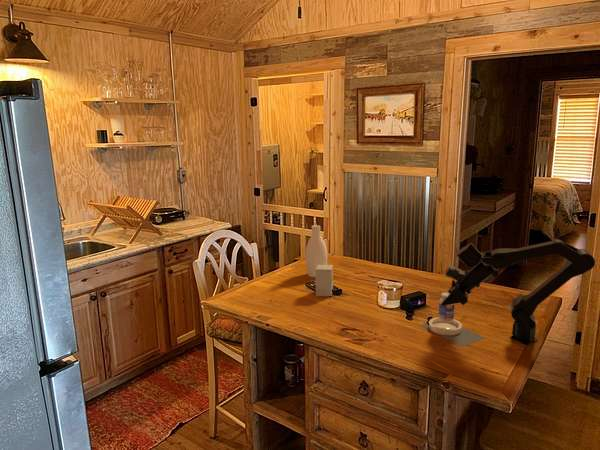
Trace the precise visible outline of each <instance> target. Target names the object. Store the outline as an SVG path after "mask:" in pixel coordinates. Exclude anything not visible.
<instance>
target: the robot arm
mask: <svg viewBox="0 0 600 450" xmlns="http://www.w3.org/2000/svg"><path fill="white" fill-rule="evenodd" d="M455 255H456V257H457V258H458V259H459V260H460V261H461V262H462V263H463V264H464V265H465V266H466V267H467V268H468V267H469V268H471V269H467V270H462V269H461V268H459V267H457V266H455V265H452V264H449V266H448V267H447V269H446V271H445V276H446V277H448V278H452V281H451V286H450V287H449V289H448V291H447V292H446V293H450V294H449V295H448V297H447V298H446V299H445V300H444V301H443V302H442V305H443V306H445V305H450V304H454V305H455V304H461V305H463V306H464V305H465V304H467V303H468V301H469V295H470V294H471V293H472V290H474V289H475V288H479V287H480V286H481V284H482V283H483V282H484V281H486V280H487V279H489V278H490V277H491V276H493V277H494V278H495V279H496V280H497V279H499V273H500V270H503V269H505V268H506V269H507V267H511V266H512V265H515V264H516V263H519V262H521V261H527V260H532V259H537V258H543V257H546V256H547V257H548V256H552V255H559V256H561V257H563V258H564V259H566V260H565V262H564V263H563V265H562V266H561V268H559V269H558V270H557V271H555V272H554V273H553V274H552V275H550V277H548V278H547V279H546V280H544V282H542V283H541V284H540V285H538V286H537V287H535V288H534V290H532V291H531V292H530V293H528V294H524V295H523V293H522V292H520V293H519V294H518V295H517V296H516V297H515V298H512V299H511V303H510V307H509V309H510V313H511V314H510V315H511V317H512V319H513V320H514V321H513V324H512V330H511V336H510V337H509V338H510V339H511V340H514V341H515V342H519V343H522V344H524V345H529V344H532V343H535V342H536V341H538V339H537V337H536V331H537V330H536V329H537V327H536V326H537V323H536V319H535V315H534V313H535V311H536V310H537V308H538V306H539V305H541V303H542V302H544V301H545V300H546V299H548V298H549V297H550V296H552V294H554V293H555V292H556V291H558V290H559V289H560V288H561V287H563V286H564V285H565V284H566V283H568V282H569V281H570V280H571V279H573V278H575V277H577V276H581V275H583V274H585V273H588V271H589V272H590V271H591V270H592V269H593V268H594V267H595V265H596V260H595V258H594V257H593V255H592V254H591V253H590V252H589V251H588V250H587V249H585V248H577V247H575V246H573V245H571V244H568V243H566V242H564V241H562V240H561V239H557V238H556V239H553V240H550V241H546V242H545V241H544V242H541V243H537V244H532V245H527V246H523V247H518V248H511V247H510V248H509V247H507V248H504V247H503V248H495V249H492V250H491V251H479V250H478V249H477V247H476V246H475V245H474V244H473V242H470V243H469V244H467V245H466V246H463V247H462V248H461V249H459V251H458V252H456V254H455Z"/></svg>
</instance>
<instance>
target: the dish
mask: <svg viewBox="0 0 600 450" xmlns="http://www.w3.org/2000/svg"><path fill="white" fill-rule="evenodd" d="M428 323H429V329H430V330H431V331H430V332H432V331H433V332H432V333H434V332H435V333H434V334H436V333H437V334H436V335H438V334H441V335H457V334H459V333H461V331H462V327H463V324H462V323H461V322H460V321H459V320H457V319H455V318H454V320H453V321H451V322H444V321H441V320H440V319H439V316H438V317H434V318H433V317H432V318H430V319H429V321H428Z"/></svg>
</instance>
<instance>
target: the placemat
mask: <svg viewBox="0 0 600 450" xmlns="http://www.w3.org/2000/svg"><path fill="white" fill-rule="evenodd" d="M427 323H428V322H426V323H423V324H420V325H419V327H422V328H423V329H426V330H427V331H430V332H432V333H434V334H435V335H438V336H440V337H442V338H444V339H446V340H448V341H451V342H452V343H454V344H457V345H459V346H460V347H465V346H469V345H471V344H473V343H475V342H478V341H481V340H484V339H486V337H485V336H484V335H480V334H479V333H476V332H474V331H472V330H470V329H467V328H465V327H463V326H462V331H461V333H459V334H457V335H441V334H437V333H435V332H433V331H431V330H430V329H429V325H428V324H427Z"/></svg>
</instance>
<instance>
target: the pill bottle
mask: <svg viewBox="0 0 600 450" xmlns="http://www.w3.org/2000/svg"><path fill="white" fill-rule="evenodd" d="M449 294H450V293H447V292H442V293H441V298H440V299H439V301H438V317H439V319H440V320H441V321H444V322H451V321H453V320H454V319H455V304H450V305H445V306H443V305H442V302H443V301H444V300H445V299H446V298H447V297H448V295H449Z"/></svg>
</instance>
